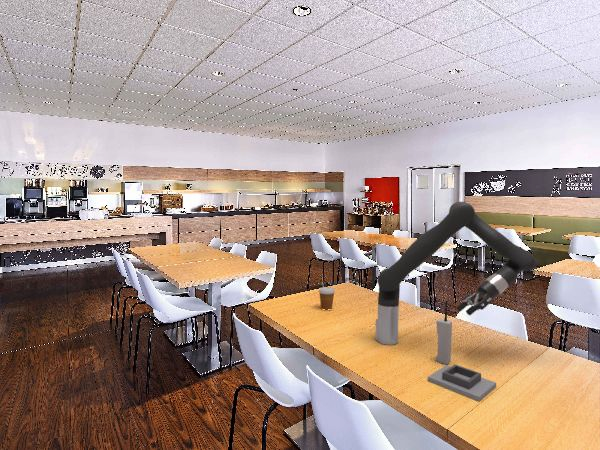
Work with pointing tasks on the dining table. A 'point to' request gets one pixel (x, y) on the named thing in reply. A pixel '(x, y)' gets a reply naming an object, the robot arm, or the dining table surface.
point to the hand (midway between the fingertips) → (462, 311)
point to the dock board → (462, 381)
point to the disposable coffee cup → (326, 297)
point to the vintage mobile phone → (444, 339)
